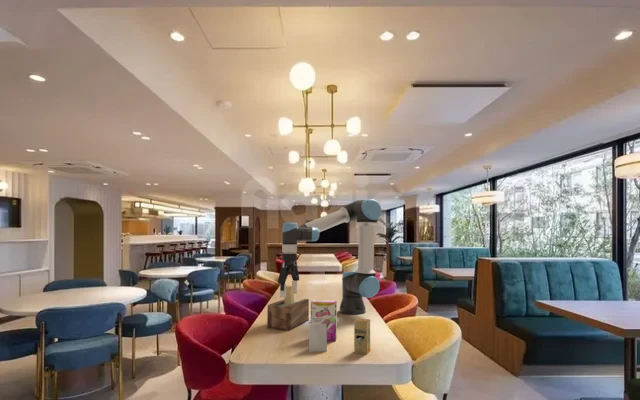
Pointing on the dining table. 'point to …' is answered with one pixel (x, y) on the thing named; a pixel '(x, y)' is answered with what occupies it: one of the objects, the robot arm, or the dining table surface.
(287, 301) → the cover plate
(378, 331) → the dining table surface
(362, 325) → the shoe polish box
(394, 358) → the dining table surface
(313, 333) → the white rectangular block
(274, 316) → the walnut box
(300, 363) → the dining table surface
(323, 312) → the candy bar box
